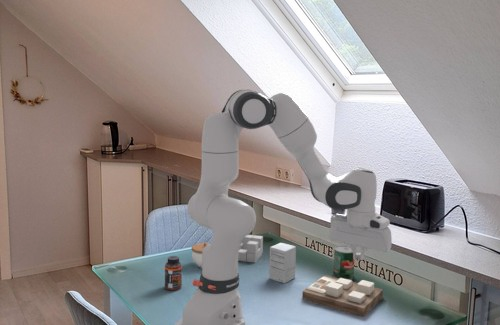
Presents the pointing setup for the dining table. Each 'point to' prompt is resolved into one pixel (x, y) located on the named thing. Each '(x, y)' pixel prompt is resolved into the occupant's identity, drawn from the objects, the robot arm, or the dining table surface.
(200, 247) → the lidded jar
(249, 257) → the puzzle cube
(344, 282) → the button far left
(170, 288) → the supplement bottle
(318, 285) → the button board
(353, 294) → the button near right
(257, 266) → the dining table surface
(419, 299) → the dining table surface
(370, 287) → the button far right
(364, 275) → the dining table surface
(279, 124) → the robot arm
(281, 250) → the supplement box
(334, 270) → the canned tomato
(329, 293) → the button near left
